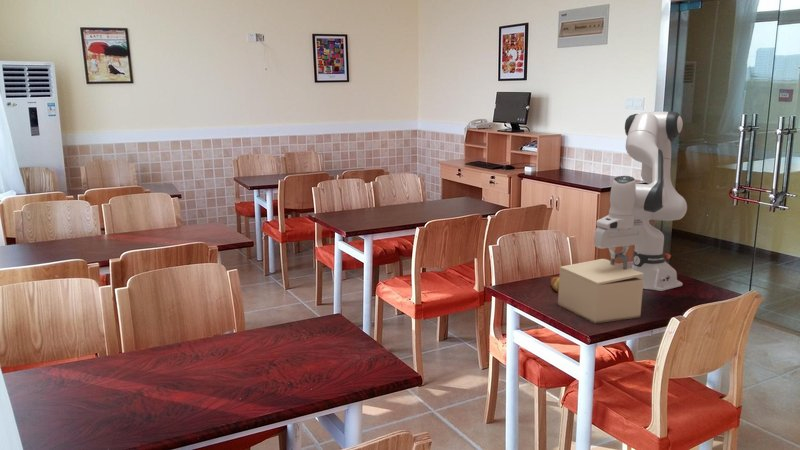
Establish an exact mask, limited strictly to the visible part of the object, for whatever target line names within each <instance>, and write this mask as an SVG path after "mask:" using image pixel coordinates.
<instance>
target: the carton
mask: <svg viewBox="0 0 800 450" xmlns="http://www.w3.org/2000/svg"><path fill="white" fill-rule="evenodd" d="M559 276H560V278H559V293H558V294H557V295H558V297H557V306H560V307H562V308H564V309H566V310H568V311H569V312H571V313H573V314H575V315H577V316H579V317H581V318H583V319H585V320H587V321H588V320H589V321H588V322H590V323H593V324H603V323H609V322H616V321H623V320H627V319H636V318H641V313H642V301H643V291H644V289H643V281H644V280H643V279H640V278H638V277H635V278H630V279H625V280H620V281H615V282H610V283H606V284H601V285H596V284H594V283H592V282H589V281H587V280H585V279H582V278H580V277H578V276H576V275H573V274H571V273H569V272H566V271H564V270H562V269H560V268H559Z"/></svg>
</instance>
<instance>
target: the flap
mask: <svg viewBox="0 0 800 450" xmlns="http://www.w3.org/2000/svg"><path fill="white" fill-rule="evenodd" d="M608 253H609V254H608V255H609V256H610V260H609V259H607V258H598V259H595V260H589V261H584V262H577V263H572V264H568V265H562V266H559V270H560V269H562V270H564V271H566V272H569V273H571V274H573V275H576V276H578V277H580V278H582V279H585V280H587V281H589V282H592V283H594V284H596V285H601V284H606V283H610V282H615V281H620V280H625V279H630V278H635V277H640V276H644V273H641V272H639V271H636V270H633V269H632V267H631V268H630V267H628V262H629V259H630V258H629V256H628V255H626V256H625V255H622V254H619V252H616V251H615V253H616V254H617V258H616V259H618V260H620V261H622V264H620V263H617V262H615V259H612V258H611V253H610V252H608Z"/></svg>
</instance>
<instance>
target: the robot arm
mask: <svg viewBox="0 0 800 450" xmlns="http://www.w3.org/2000/svg"><path fill="white" fill-rule="evenodd" d="M683 124H684V122H683V119H682V115H681V114H680V113H679V112H678V111H671V110H669V111H651V112H642V113H641V112H640V113H634V114H631V115H629V116H627V118H626V119H625V123H624V131H625V135H626V136H627V137H626V140H625V150H626V153H627V154H628V156H630V157H631V158H632V159H633V160H635V161H636V162H638V163H641V171H640V176H641V179H642V181H644V182H645V183H646V184H644V183H636V179H635V178H634V177H633V176H630V175H620V176H616V177H614V178H613V180H612V183H611V188H610V192H609V203H610V207H609V209H608V215H605V216H603V217H602V218H599V219H597V220H596V222H595V223H596V226H597V227H596V229H595V231H594V236H593V237H594V238H593V245H594V246H595V248H597V249H600V250H601V249H608V251H609V253H611V256H610V259H611V258H612V259H614V260H615V259H617V254H616V253H615V252H616V250H617V249H616V248H619V247H622V250H621V251H619V252H618V253H619V254H622V255H625V256H627V255H626V254H627V253H628V250H630V249H629V248H630V247H631V246H634V250H633V253H632V265H631V269H633V270H636V271H639V272H641V273H644V276H640V277H638V278H640V279H643V280H644V281H643V290H653V291H659V292H663V291H666V290H667V291H668V290H671V289H674V288H675V289H676V288H678V287H682V286H683V282H681V281H680V280H678V273H677V270H676V269H675V268H674V267H673V266H672V265H670V264H669V263H668V262H667V261H666V259H668V260H669V259H671V257H672V255H671V254H670V253H668V252H667V253H664V244H665V235H664V233H663V232H662V231H661V230H660V229H658V228H656V227H654V226H653V225H652V224H651V223H650V221H652V220H653V221H654V220H655V221H664V222H665V221H666V222H670V221H678V220H679V221H680V220H681V219H683V217H685V215H686V213H687V211H688V203H687V201H686V199H685V198H684V196H682V195H681V194H679V193H678V191H677V190H676V188H675V187H674V185H673V183H672V178H671V166H672V144H671V143H672V142H673V141H674V140H675V139H676V138H677V137H679V135H680V134H681V132H682V129H683V126H684V125H683Z"/></svg>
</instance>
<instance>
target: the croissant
mask: <svg viewBox="0 0 800 450" xmlns="http://www.w3.org/2000/svg"><path fill="white" fill-rule="evenodd" d="M559 278H560V275H559V276H555V277H554V276H553V277H551V278H550V285H551V289H553V290H554V291H555V292H557V293H558V294H559Z"/></svg>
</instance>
